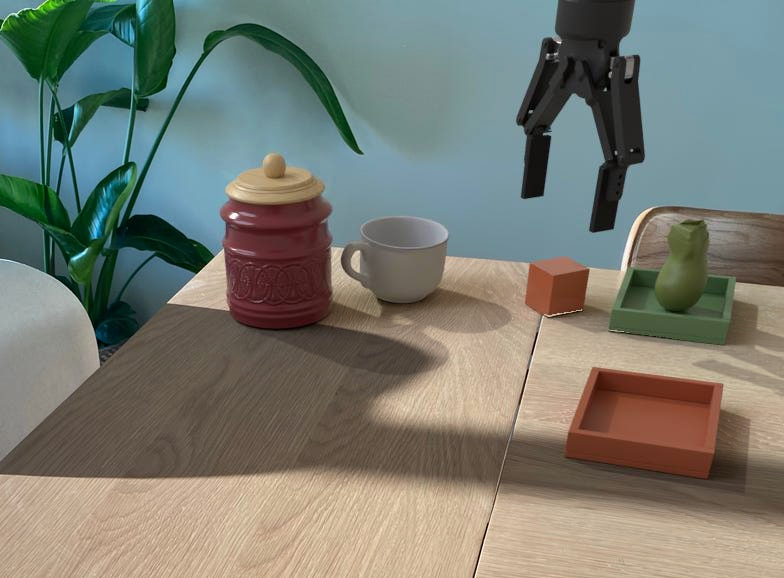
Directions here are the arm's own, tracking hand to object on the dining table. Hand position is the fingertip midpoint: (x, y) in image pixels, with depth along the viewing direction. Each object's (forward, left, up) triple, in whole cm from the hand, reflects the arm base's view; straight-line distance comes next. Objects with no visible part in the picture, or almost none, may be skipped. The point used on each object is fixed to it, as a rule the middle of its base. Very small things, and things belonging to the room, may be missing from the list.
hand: (565, 213), depth 111 cm
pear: (-8, -11, -10) cm, 17 cm away
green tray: (-8, -11, -11) cm, 18 cm away
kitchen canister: (+14, +30, -11) cm, 35 cm away
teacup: (+12, +16, -11) cm, 23 cm away
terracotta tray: (-30, +10, -11) cm, 34 cm away
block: (0, 0, -11) cm, 11 cm away
